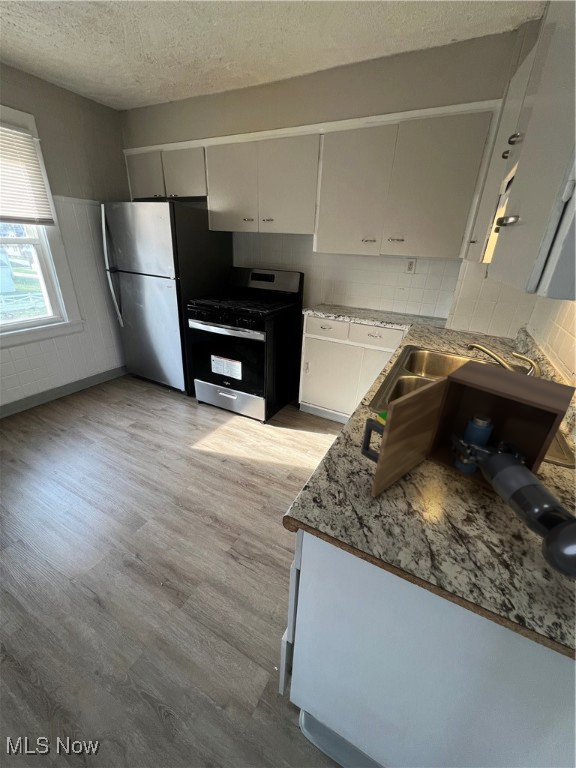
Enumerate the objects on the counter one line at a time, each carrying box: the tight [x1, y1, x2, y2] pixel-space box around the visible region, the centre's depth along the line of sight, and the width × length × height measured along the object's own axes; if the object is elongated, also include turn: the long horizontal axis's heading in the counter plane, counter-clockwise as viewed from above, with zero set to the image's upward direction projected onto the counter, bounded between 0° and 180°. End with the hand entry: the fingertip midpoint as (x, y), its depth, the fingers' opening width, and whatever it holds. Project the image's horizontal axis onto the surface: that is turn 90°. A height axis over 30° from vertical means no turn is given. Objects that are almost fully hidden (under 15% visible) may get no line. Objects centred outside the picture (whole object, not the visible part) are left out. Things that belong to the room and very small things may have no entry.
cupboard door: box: [360, 375, 448, 498], centre depth 73 cm, size 7×22×24 cm, turn 130°
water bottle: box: [454, 414, 493, 474], centre depth 76 cm, size 5×5×14 cm
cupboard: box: [425, 359, 576, 494], centre depth 76 cm, size 16×22×24 cm
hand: (470, 434), depth 77 cm, fingers open, 8 cm apart
